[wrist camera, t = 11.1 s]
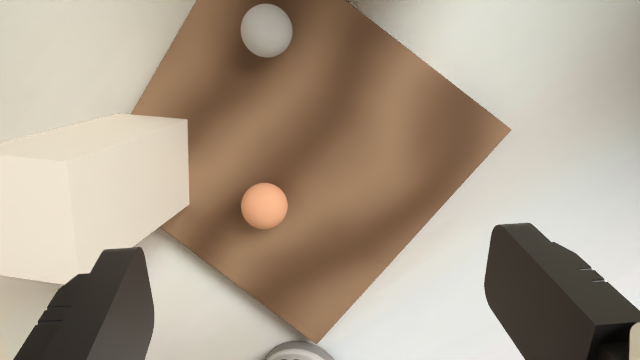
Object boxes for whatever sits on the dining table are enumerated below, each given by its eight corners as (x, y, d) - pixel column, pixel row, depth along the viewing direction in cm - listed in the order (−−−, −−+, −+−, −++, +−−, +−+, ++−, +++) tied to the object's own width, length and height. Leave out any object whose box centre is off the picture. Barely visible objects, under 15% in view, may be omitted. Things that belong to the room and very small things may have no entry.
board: (106, 172, 36) (94, 177, 35) (250, -74, 30) (242, -80, 28) (320, 332, 37) (316, 344, 35) (506, 125, 30) (511, 129, 29)
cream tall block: (187, 119, 32) (67, 161, 21) (189, 204, 34) (79, 286, 22) (118, 113, 33) (-36, 151, 21) (123, 196, 35) (-16, 272, 23)
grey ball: (241, 37, 30) (223, 36, 27) (267, -5, 29) (252, -10, 26) (279, 66, 30) (265, 69, 27) (307, 25, 29) (296, 23, 26)
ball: (241, 201, 33) (225, 216, 30) (265, 168, 32) (251, 180, 29) (276, 228, 33) (263, 245, 30) (301, 195, 32) (290, 210, 29)
